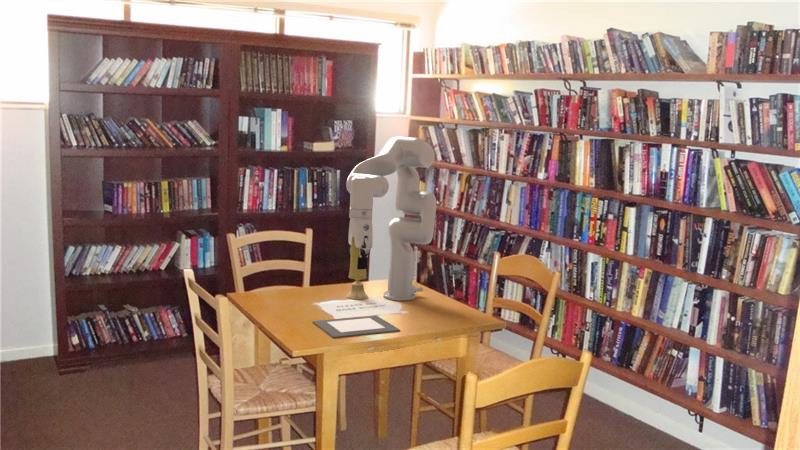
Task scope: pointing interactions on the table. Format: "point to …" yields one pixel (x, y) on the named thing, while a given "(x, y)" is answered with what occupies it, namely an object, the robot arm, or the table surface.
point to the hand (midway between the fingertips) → (358, 266)
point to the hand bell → (357, 291)
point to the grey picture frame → (355, 326)
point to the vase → (355, 263)
